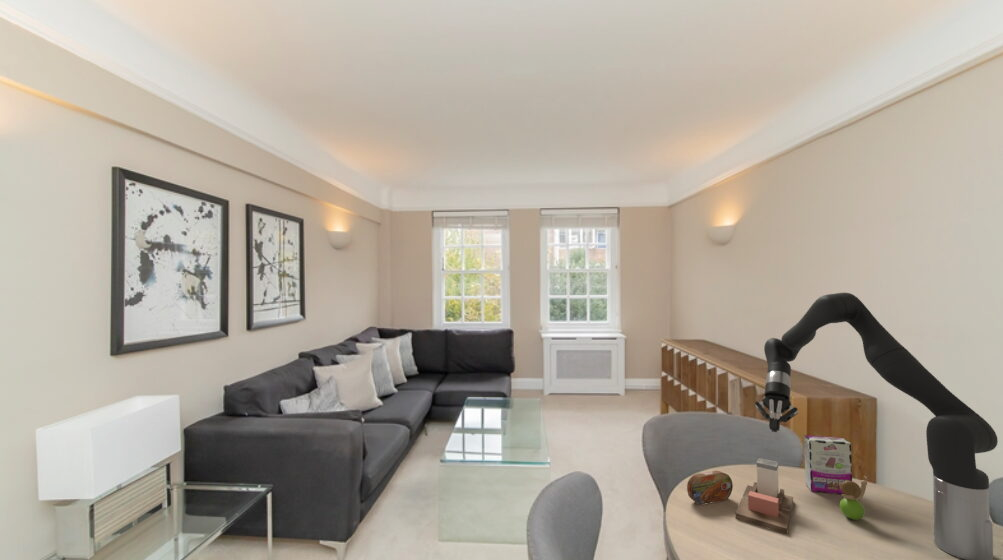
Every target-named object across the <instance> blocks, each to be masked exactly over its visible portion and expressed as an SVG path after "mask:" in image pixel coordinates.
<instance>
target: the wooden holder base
mask: <svg viewBox="0 0 1003 560" xmlns="http://www.w3.org/2000/svg"><path fill="white" fill-rule="evenodd" d="M750 491H752V492H756V493H757V481H756V482H755V481H754V482H753V485H752V486H751V485H749V484H748V485H746V488H745V490H744V492H743V494H742V497H741V499H740V500H739V501H740V502H739V504H738V507H737V508H736V511H735V519H737V520H740V521H743V522H747V523H750V524H752V525H756V526H759V527H762V528H765V529H769V530H771V531H776V532H779V533H780V534H781V533H782V534H784V535H785V534H786V535H788V533H789V526H790V521H791V517H792V510H793V506H794V496H791V495H788V494H787V495H786V494H785V489H784V488H780V489H779V495H778V499H779V514H778V518H777V517H774V516H771V515H767V514H764V513H760V512H757V511H753V510H750V509H748V494H749V492H750Z"/></svg>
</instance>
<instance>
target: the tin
mask: <svg viewBox="0 0 1003 560" xmlns="http://www.w3.org/2000/svg"><path fill="white" fill-rule="evenodd" d="M733 486H734V485H733V480H732V478H731V477H730V475H729V474H727V473H725V472H723V471H721V470H711V471H706V472H701V473H696V474H693V475H692V476H691V477H690V478H689V479H688V481H687V487H686V492H687V494H688V497H689V498H690V499H691V500H692V502H695V503H696V504H697V505H700V506H703V505H702V504H705V503H710V502H715V503H718V502H719V501H720V502H724V501H726V500H727V499H728V498H730V496H731V495H732V491H733ZM710 504H711V503H710Z"/></svg>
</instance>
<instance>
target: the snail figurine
mask: <svg viewBox="0 0 1003 560" xmlns="http://www.w3.org/2000/svg"><path fill="white" fill-rule="evenodd" d="M863 478H864V479H861V480H860V485H859V484H858V483H856V482H855V481H853V480H852V481H845V482H843V483H842V485H841V490H842V492H843V493H844V494H842V495H841V496H842V497H843V498H842V499H841V500H840V501H839V509H840V511H841V513H842V514H843V515H845V517H847V518H848V519H850V520H855V521H857V520H861V519H863V518H864V517H865V516H866V510H865V507H864V505H863V504H862V503H861V501H859V499H861V498H863V497H864V495H865V493H866V488H867V486H868V482H867V481H868V476H866V475H864V476H863Z"/></svg>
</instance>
